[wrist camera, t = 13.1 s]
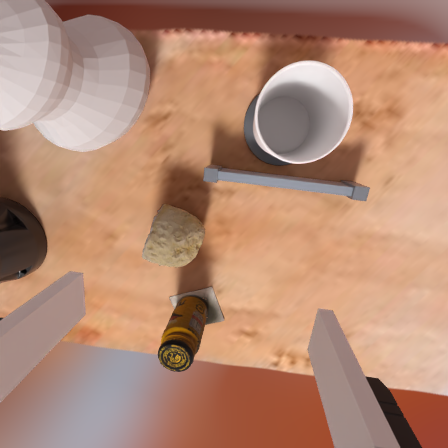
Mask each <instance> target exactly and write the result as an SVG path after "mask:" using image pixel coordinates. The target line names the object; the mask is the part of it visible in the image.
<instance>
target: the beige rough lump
mask: <svg viewBox="0 0 448 448" xmlns="http://www.w3.org/2000/svg"><path fill="white" fill-rule="evenodd" d="M157 212H159V213H158V214H157V215H156V216H155V217H154V220H153V223H152V227H151V231H150V234H149V235H148V238H147V240H146V242H145V247H144V249H143V255H142V258H143V259H146V260H148V261H149V262H152V263H157V264H158V265H159V266H160V265H163V266H169V267H181V266H185V265H187V264H188V263H189V262H191V261H192V260H193V259H194V258H195V257H196V255H197V253H198V250H199V248H200V246H201V245H202V242H203V239H204V236H205V229H204V226H203V224H202V223H201V221H200V220H198V219H197V217H196V216H194V215H192V214H190V213H188V212H187V211H185V210H183V209H181V208H176V207H173V206H171V205H167V204H163V205H162V207H161V209H160V210H158V211H157Z"/></svg>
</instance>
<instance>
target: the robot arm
mask: <svg viewBox="0 0 448 448" xmlns="http://www.w3.org/2000/svg"><path fill="white" fill-rule="evenodd" d="M46 252H47V243H46V238H45V234H44V232H43V229H42V227H41V225H40V224H39V222H38V221H37V219H36V218H35V217H34V216H33V215H32V214H31V213H30V212H29V211H28V210H27V209H26V208H25V207H23V206H22V205H20V204H18V203H17V202H14V201H12V200H9V199H6V198H0V283H2V282H7V281H12V280H16V279H20V278H22V277H25V276H26V275H28V274H30V273H32V272H33V271H35V270H36V269H38V268H39V267H40V266H41V264H42V263H43V261H44V259H45V256H46ZM85 314H86V312H85V296H84V281H83V273H78V272H71V271H70V272H68V273H67V274H66V275H64V276H63V277H61V278H60V279H58V280H57V281H56V282H54V283H53V284H51V285H50V286H49V287H47V288H46V289H44V290H43V291H42V292H40V293H39V294H37V295H36V296H34V297H33V298H32V299H30V300H29V301H27V302H26V303H25V304H23V305H22V306H20V307H19V308H17V309H16V310H15V311H13V312H12V313H10V314H9V315H8V316H6V317H5V318H0V402H1V401H2V400H3V399H4V398H5V397H6V396H7V395H8V394H9V393H10V392H11V391H12V390H13V389H14V388H15V387H16V386H17V385H18V384H19V383H20V382H21V381H22V380H23V379H24V378H25V377H26V375H28V373H29V372H30V371H31V370H32V369H33V368H34V367H35V366H36V365H37V364H38V363H39V362H40V361H41V360H42V359H43V358H44V357H45V356H46V355H47V354H48V353H49V352H50V350H52V349H53V348H54V347H55V346H56V344H57V343H58V342H59V341H60V340H61V339H62V338H63V337H64V336H65V335H66V334H67V333H68V332H69V331H70V330H71V329H72V328H73V327H74V326H75V325H76V324H77V323H78V322H79V321H80V320H81V319H82V318H83V317H84V316H85ZM308 353H309V357H310V360H311V364H312V368H313V371H314V375H315V378H316V382H317V386H318V389H319V393H320V396H321V400H322V403H323V407H324V410H325V414H326V418H327V422H328V425H329V429H330V432H331V436H332V439H333V443H334V447H335V448H422V447H421V445H420V443H419V441H418V440H417V438H416V436H415V434H414V433H413V431H412V429H411V427H410V426H409V424H408V422H407V420H406V418H404V416H403V413H402V411H401V410H400V408H399V406H397V403H396V401H395V399H394V397H393V395H392V394H391V392H390V390H389V389H388V388H387V387H386V386H385V385H384V384H383V383H382V382H381V381H380V380H379V379H378V378H372V377H365V375H364V373H363V371H362V369H361V367H360V365H359V363H358V361H357V359H356V357H355V355H354V353H353V351H352V349H351V347H350V345H349V343H348V341H347V339H346V337H345V335H344V333H343V330H342V328H341V326H340V324H339V322H338V320H337V318H336V316H335V314H334V312H333V311H332V310H325V309H319V308H318V311H317V315H316V319H315V322H314V326H313V330H312V334H311V338H310V342H309V346H308Z"/></svg>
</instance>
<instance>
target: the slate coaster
mask: <svg viewBox="0 0 448 448" xmlns="http://www.w3.org/2000/svg"><path fill="white" fill-rule="evenodd" d="M259 95H260V94H259ZM259 95H258V96H257V97H256V98H255V99H254V100H253V101H252V103H251V105H250V106H249V108H248V110H247V113H246V116H245V121H244V134H245V139H246V142H247V144H248V146H249V148H250V149H251V151H252V152H253V153H254V155H256V156H257V157H258V158H259V159H261V160H262V161H264V162H266V163H269V164H272V165H288V164H292V163H288V162H285V161H282V160H280V159H278V158H276V157H274V156H272V155H271V154H269V153H267V152H265V151H264V150H263V149H262V148H261V147H260V146H259V145H258V143H257V142H256V140H255V137H254V133H253V122H254V114H255V108H256V103H257V100H258V97H259Z"/></svg>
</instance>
